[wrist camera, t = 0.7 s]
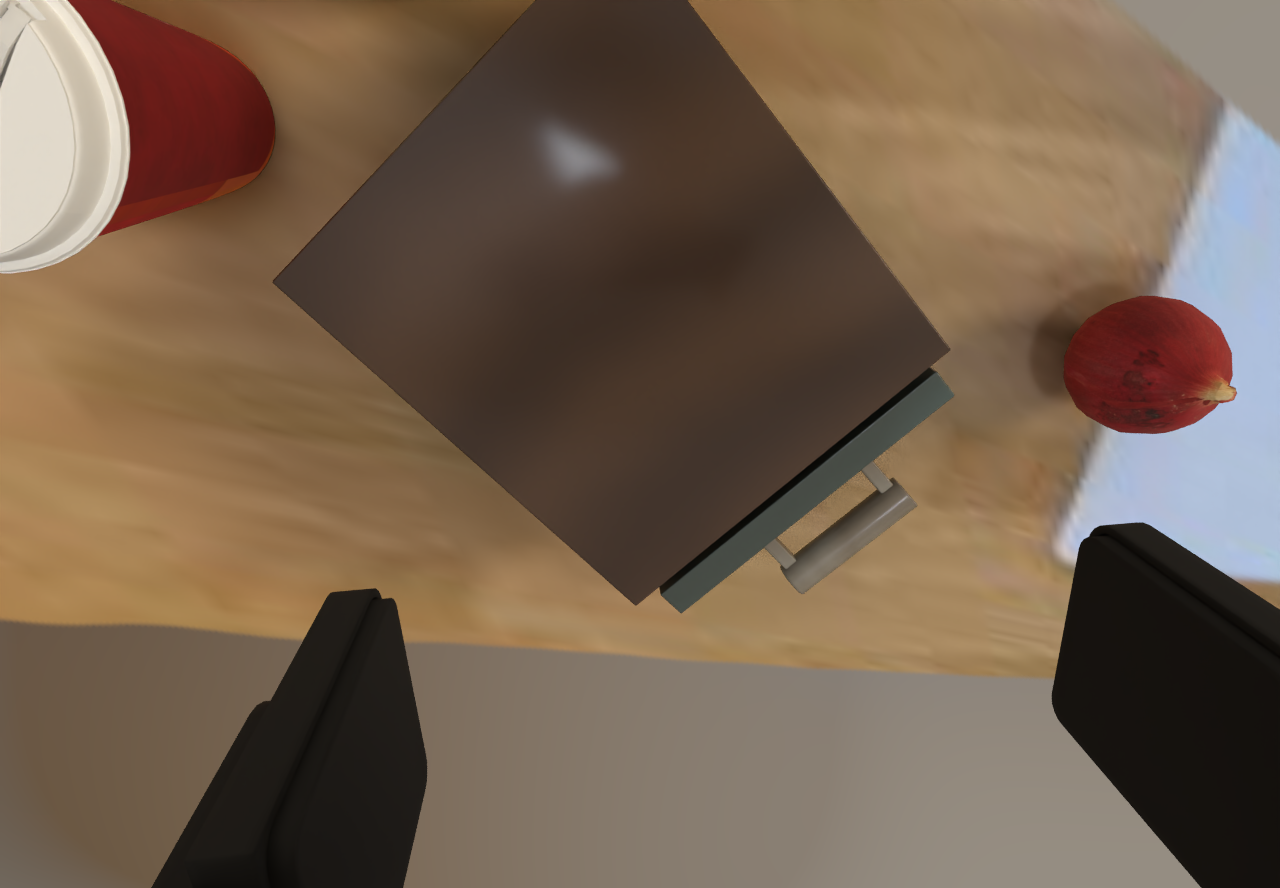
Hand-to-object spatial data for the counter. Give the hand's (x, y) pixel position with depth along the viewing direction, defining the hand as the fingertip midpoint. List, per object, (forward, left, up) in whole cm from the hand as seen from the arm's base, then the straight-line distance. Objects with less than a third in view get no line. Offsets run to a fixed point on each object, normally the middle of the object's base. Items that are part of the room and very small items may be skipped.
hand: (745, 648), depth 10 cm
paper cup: (+8, -16, -25) cm, 31 cm away
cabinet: (0, -1, -25) cm, 25 cm away
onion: (-14, +17, -25) cm, 33 cm away
